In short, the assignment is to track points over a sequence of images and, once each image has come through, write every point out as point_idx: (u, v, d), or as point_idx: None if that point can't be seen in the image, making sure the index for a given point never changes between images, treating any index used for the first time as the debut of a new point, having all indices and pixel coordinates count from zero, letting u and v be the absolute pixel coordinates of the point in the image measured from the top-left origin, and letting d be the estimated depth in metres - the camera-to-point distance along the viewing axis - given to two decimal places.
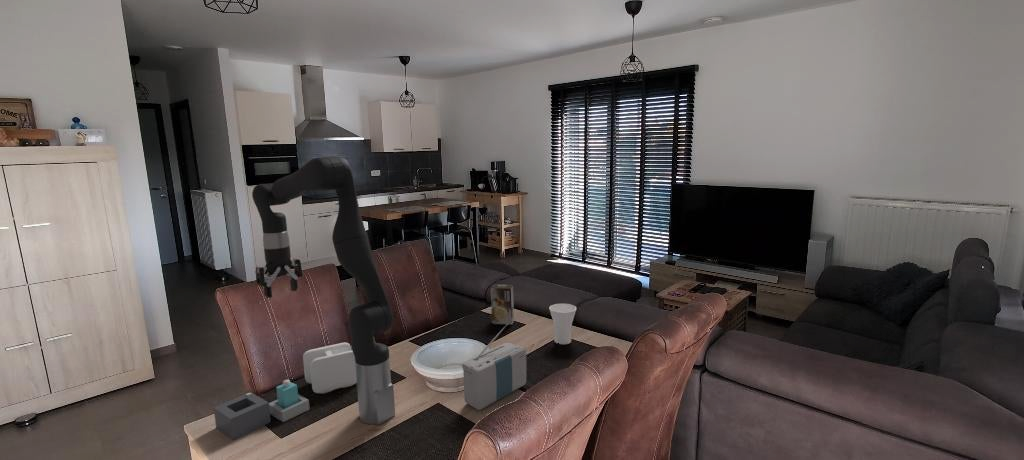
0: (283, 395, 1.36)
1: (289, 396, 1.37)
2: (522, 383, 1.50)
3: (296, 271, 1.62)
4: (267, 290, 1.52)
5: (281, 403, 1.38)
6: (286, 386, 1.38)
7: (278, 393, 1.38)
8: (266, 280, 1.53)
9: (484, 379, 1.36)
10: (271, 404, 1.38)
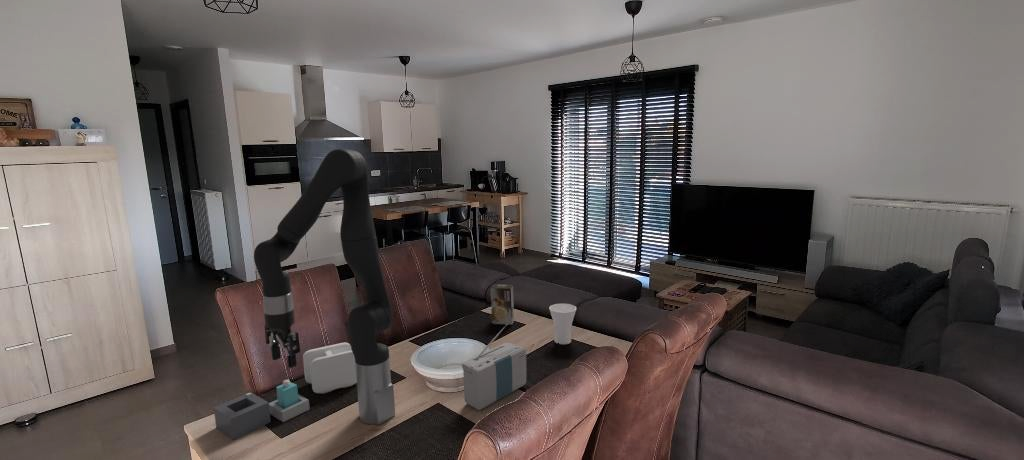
0: (283, 395, 1.36)
1: (288, 396, 1.37)
2: (522, 383, 1.50)
3: None
4: None
5: (281, 403, 1.38)
6: (286, 386, 1.38)
7: (278, 393, 1.38)
8: None
9: (484, 379, 1.36)
10: (271, 404, 1.38)
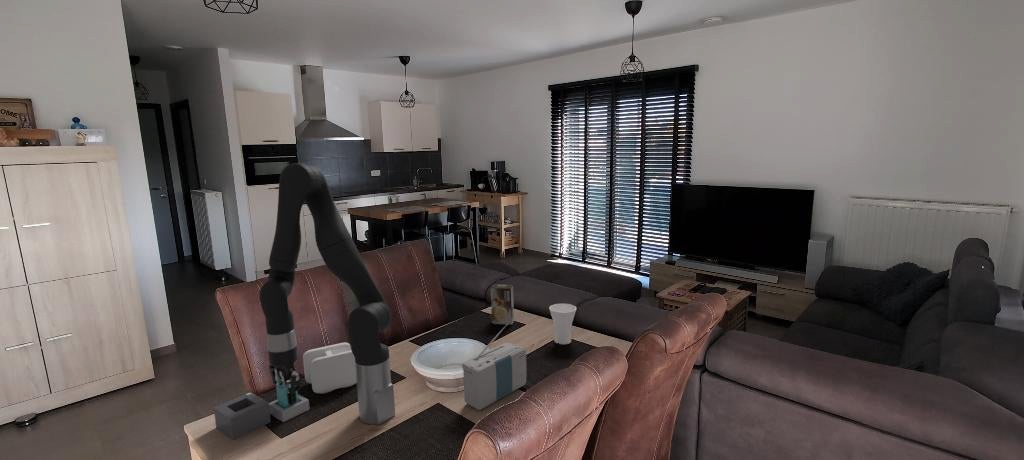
0: (283, 395, 1.36)
1: None
2: (522, 383, 1.50)
3: None
4: None
5: (281, 403, 1.38)
6: None
7: (278, 393, 1.38)
8: None
9: (484, 379, 1.36)
10: (271, 404, 1.38)
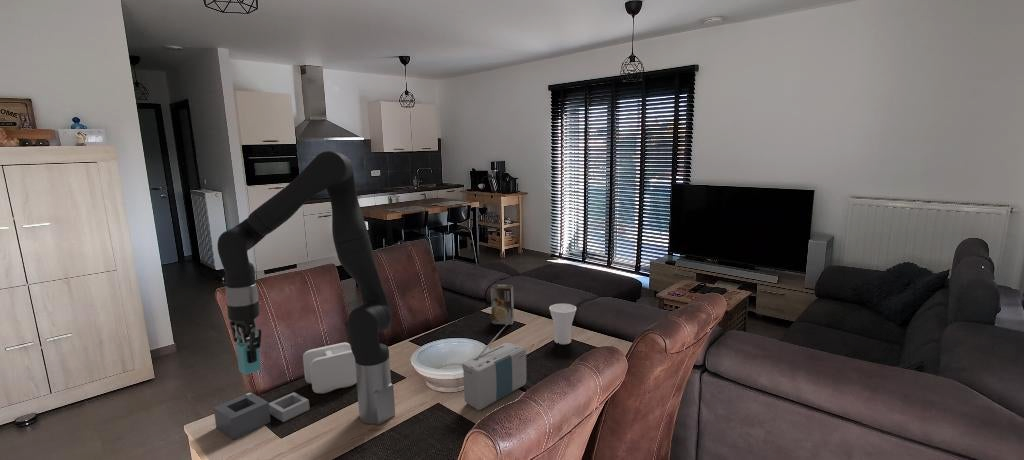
0: (242, 352, 1.30)
1: None
2: (522, 383, 1.50)
3: None
4: None
5: (241, 361, 1.31)
6: None
7: (238, 350, 1.31)
8: None
9: (484, 378, 1.36)
10: (271, 404, 1.38)
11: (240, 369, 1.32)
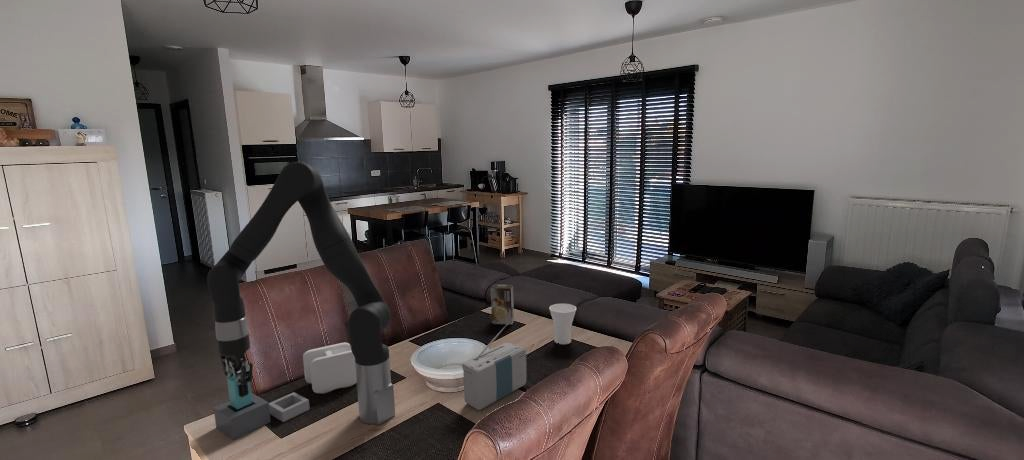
0: (233, 386, 1.29)
1: None
2: (522, 383, 1.50)
3: None
4: None
5: (232, 395, 1.30)
6: None
7: (229, 384, 1.30)
8: None
9: (484, 379, 1.36)
10: (271, 404, 1.38)
11: (231, 403, 1.31)
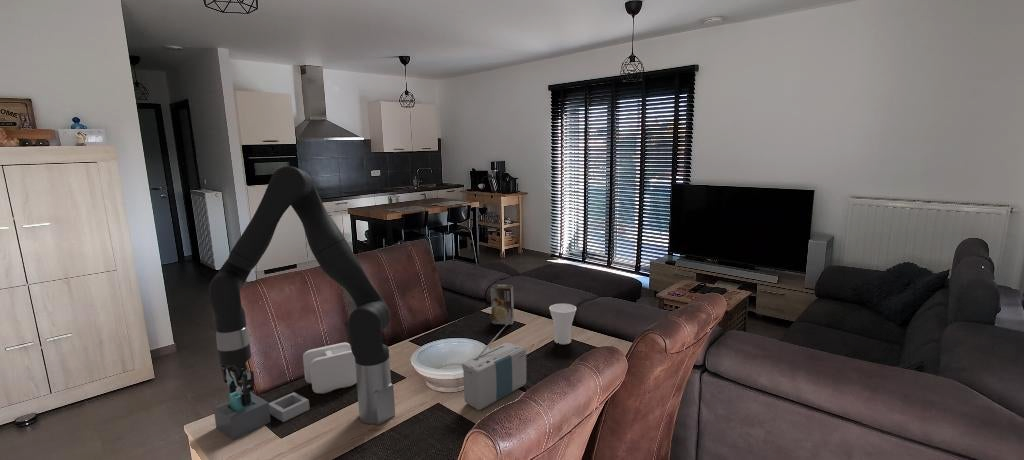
0: (235, 403, 1.30)
1: None
2: (522, 383, 1.50)
3: None
4: None
5: (234, 411, 1.31)
6: (239, 393, 1.31)
7: (231, 401, 1.31)
8: None
9: (484, 378, 1.36)
10: (271, 404, 1.38)
11: None
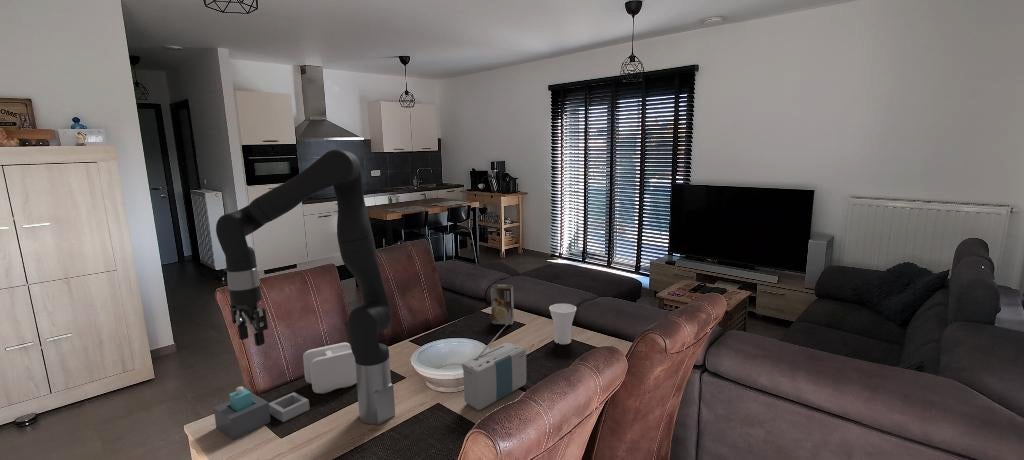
0: (235, 403, 1.30)
1: (242, 404, 1.30)
2: (522, 383, 1.50)
3: None
4: None
5: (234, 411, 1.31)
6: (239, 393, 1.31)
7: (231, 401, 1.31)
8: None
9: (484, 379, 1.36)
10: (271, 404, 1.38)
11: None
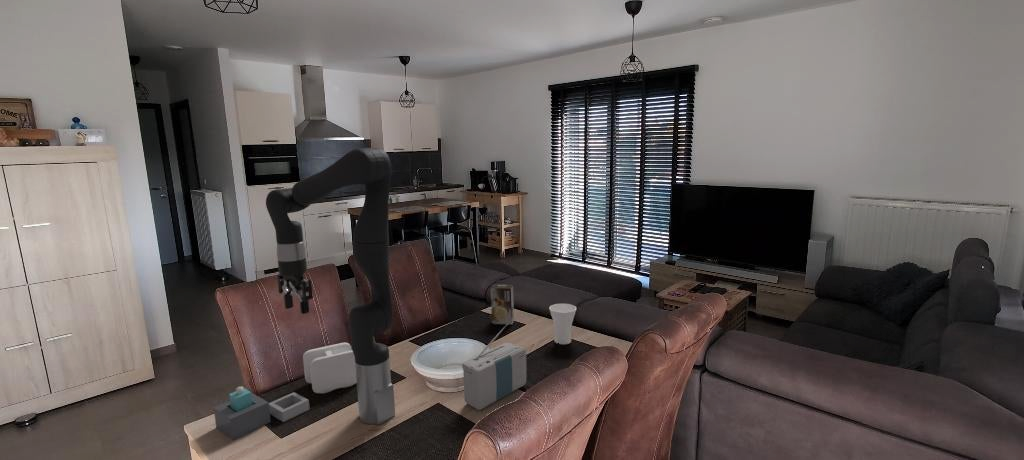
0: (235, 403, 1.30)
1: (242, 404, 1.30)
2: (522, 383, 1.50)
3: None
4: None
5: (234, 411, 1.31)
6: (239, 393, 1.31)
7: (231, 401, 1.31)
8: None
9: (484, 379, 1.36)
10: (271, 404, 1.38)
11: None
